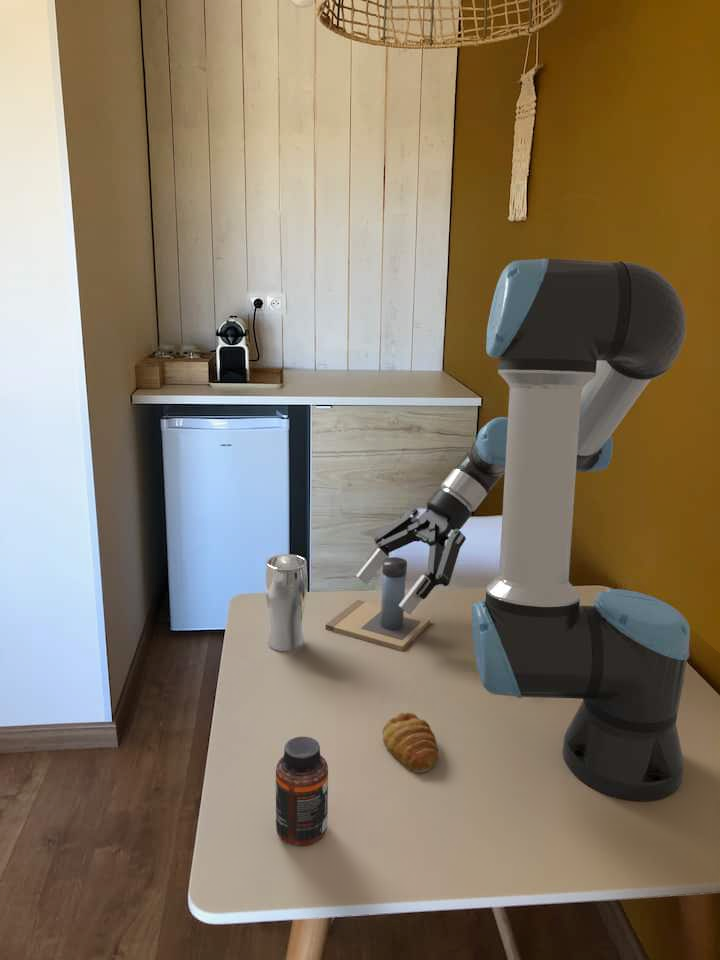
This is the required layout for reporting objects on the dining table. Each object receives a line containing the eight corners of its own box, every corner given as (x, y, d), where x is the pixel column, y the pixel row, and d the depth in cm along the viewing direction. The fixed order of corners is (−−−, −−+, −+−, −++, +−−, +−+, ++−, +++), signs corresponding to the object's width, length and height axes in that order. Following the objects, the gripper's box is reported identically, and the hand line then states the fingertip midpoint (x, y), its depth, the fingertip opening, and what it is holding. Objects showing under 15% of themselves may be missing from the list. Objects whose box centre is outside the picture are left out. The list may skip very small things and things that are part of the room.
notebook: (401, 650, 130) (402, 646, 130) (325, 628, 137) (325, 624, 137) (430, 622, 141) (430, 618, 140) (357, 603, 147) (357, 599, 147)
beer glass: (268, 655, 128) (268, 571, 123) (263, 635, 134) (262, 554, 130) (310, 651, 129) (311, 568, 125) (303, 632, 136) (303, 552, 132)
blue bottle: (397, 632, 135) (400, 568, 131) (375, 626, 137) (378, 563, 133) (407, 622, 138) (411, 560, 135) (386, 617, 140) (389, 555, 137)
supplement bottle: (338, 831, 90) (340, 747, 86) (299, 857, 86) (300, 770, 82) (303, 805, 94) (304, 724, 90) (265, 829, 90) (264, 745, 86)
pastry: (450, 770, 101) (452, 745, 100) (403, 781, 99) (404, 755, 98) (421, 729, 110) (422, 706, 108) (376, 738, 107) (377, 714, 106)
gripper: (513, 534, 130) (436, 635, 127) (425, 493, 150) (356, 579, 147) (491, 509, 126) (411, 612, 122) (404, 470, 146) (333, 558, 143)
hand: (381, 595), depth 135 cm, fingers open, 13 cm apart
